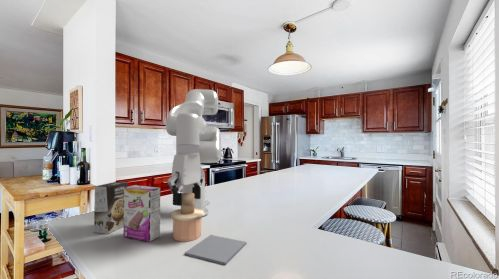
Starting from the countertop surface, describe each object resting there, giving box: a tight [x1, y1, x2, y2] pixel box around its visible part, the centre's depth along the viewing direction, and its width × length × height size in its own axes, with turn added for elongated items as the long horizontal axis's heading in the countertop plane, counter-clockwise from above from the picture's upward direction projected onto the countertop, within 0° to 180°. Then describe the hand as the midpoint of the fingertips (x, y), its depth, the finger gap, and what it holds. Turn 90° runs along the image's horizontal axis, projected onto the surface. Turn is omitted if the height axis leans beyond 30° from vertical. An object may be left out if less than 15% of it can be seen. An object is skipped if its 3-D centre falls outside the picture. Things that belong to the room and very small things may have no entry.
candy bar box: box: [123, 184, 161, 243], centre depth 74 cm, size 11×5×16 cm, turn 71°
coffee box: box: [93, 181, 129, 235], centre depth 82 cm, size 9×6×16 cm
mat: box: [184, 234, 247, 266], centre depth 66 cm, size 13×13×1 cm
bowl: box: [172, 217, 203, 243], centre depth 76 cm, size 9×9×7 cm
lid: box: [170, 193, 204, 221], centre depth 76 cm, size 11×11×7 cm
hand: (187, 201), depth 75 cm, fingers open, 9 cm apart
